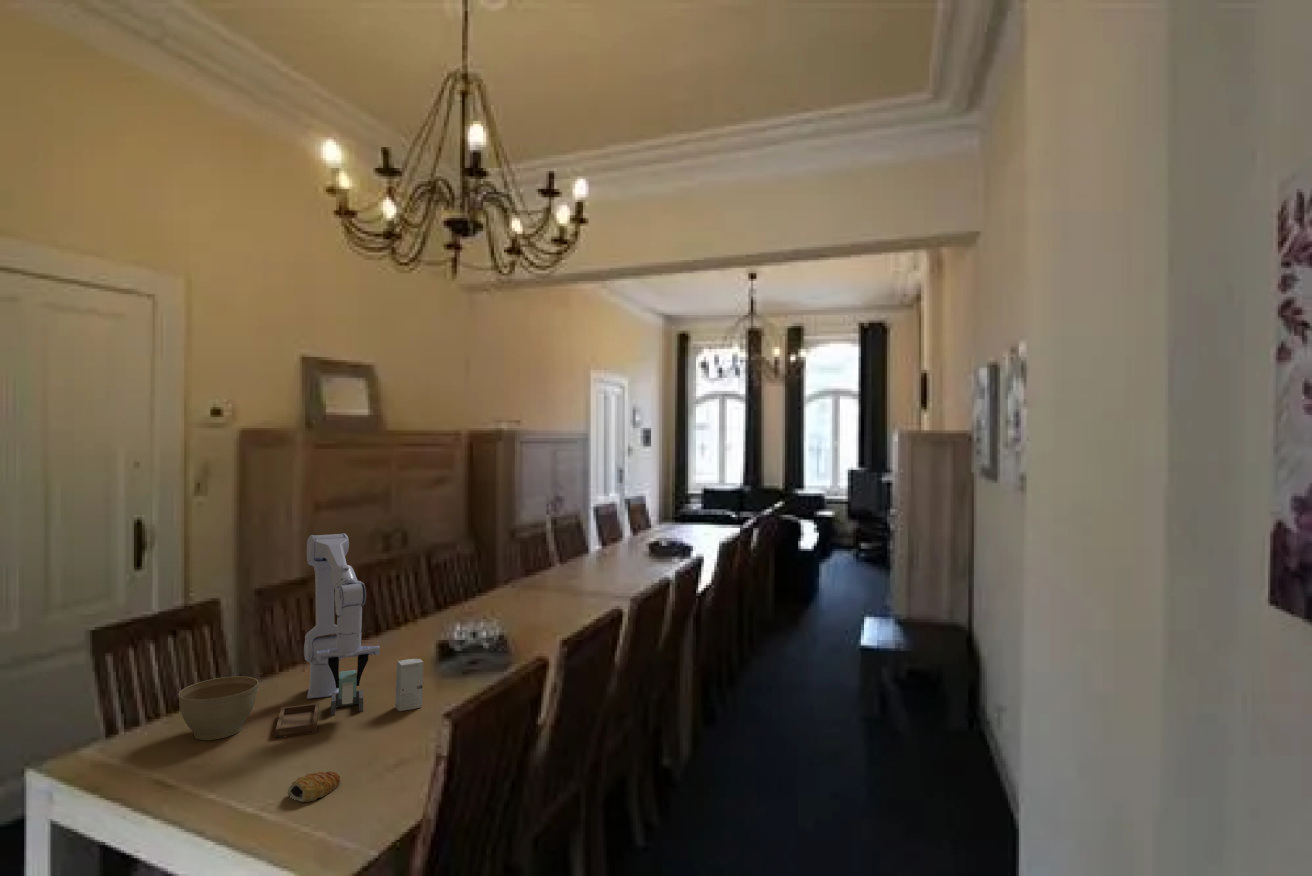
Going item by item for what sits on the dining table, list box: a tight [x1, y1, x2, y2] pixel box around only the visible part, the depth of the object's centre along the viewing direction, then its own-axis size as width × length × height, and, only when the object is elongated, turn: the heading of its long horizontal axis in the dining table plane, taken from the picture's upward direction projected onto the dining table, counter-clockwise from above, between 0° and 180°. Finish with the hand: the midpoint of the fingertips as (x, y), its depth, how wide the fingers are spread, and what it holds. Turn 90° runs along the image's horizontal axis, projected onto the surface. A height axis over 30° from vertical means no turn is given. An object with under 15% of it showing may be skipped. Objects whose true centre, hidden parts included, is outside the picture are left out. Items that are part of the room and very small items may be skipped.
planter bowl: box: [178, 675, 259, 741], centre depth 163 cm, size 16×16×11 cm
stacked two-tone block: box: [339, 669, 357, 704], centre depth 171 cm, size 10×4×5 cm, turn 24°
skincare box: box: [394, 657, 424, 712], centre depth 181 cm, size 6×4×12 cm
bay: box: [330, 689, 364, 716], centre depth 179 cm, size 7×8×4 cm
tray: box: [274, 702, 320, 739], centre depth 169 cm, size 15×9×2 cm, turn 24°
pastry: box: [287, 771, 341, 803], centre depth 136 cm, size 9×7×4 cm
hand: (347, 685), depth 172 cm, fingers closed on stacked two-tone block, 4 cm apart
